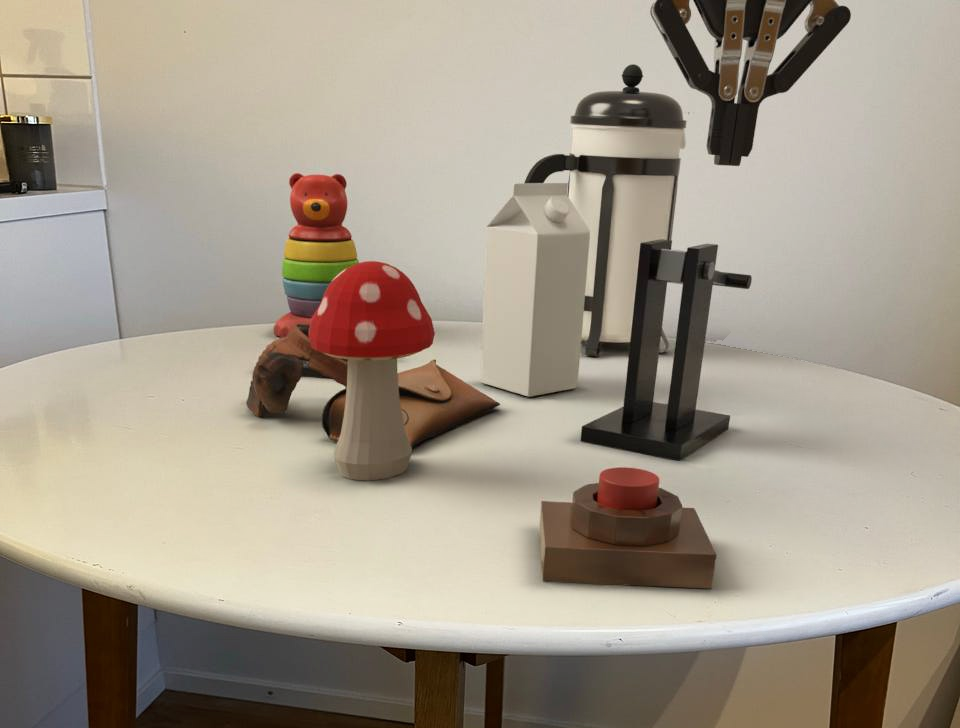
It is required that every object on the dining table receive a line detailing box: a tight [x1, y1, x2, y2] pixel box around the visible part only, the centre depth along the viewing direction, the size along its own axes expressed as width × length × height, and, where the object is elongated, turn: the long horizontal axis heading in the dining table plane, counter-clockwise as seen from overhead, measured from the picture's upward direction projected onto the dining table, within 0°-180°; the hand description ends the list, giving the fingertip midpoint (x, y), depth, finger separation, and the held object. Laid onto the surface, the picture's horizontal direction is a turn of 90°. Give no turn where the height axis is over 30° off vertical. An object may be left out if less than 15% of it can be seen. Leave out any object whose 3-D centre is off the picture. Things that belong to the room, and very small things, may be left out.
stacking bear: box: [273, 172, 360, 338], centre depth 121 cm, size 11×10×18 cm
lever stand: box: [580, 239, 731, 461], centre depth 86 cm, size 12×9×16 cm
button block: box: [538, 482, 717, 590], centre depth 63 cm, size 10×8×4 cm
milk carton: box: [480, 182, 590, 398], centre depth 99 cm, size 7×7×19 cm
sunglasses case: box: [321, 359, 501, 449], centre depth 89 cm, size 18×7×7 cm
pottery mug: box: [245, 326, 348, 418], centre depth 90 cm, size 12×10×8 cm
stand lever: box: [656, 249, 753, 290], centre depth 88 cm, size 14×5×2 cm, turn 149°
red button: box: [597, 466, 660, 511], centre depth 62 cm, size 4×4×2 cm
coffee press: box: [524, 63, 688, 358], centre depth 116 cm, size 17×16×30 cm
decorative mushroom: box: [308, 260, 436, 481], centre depth 74 cm, size 10×9×15 cm
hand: (727, 164), depth 69 cm, fingers closed
